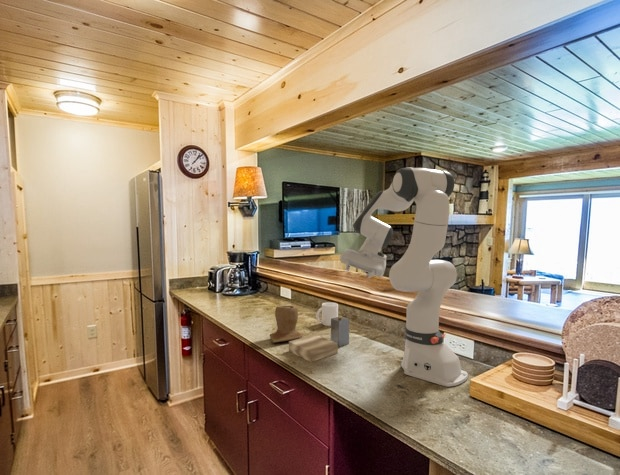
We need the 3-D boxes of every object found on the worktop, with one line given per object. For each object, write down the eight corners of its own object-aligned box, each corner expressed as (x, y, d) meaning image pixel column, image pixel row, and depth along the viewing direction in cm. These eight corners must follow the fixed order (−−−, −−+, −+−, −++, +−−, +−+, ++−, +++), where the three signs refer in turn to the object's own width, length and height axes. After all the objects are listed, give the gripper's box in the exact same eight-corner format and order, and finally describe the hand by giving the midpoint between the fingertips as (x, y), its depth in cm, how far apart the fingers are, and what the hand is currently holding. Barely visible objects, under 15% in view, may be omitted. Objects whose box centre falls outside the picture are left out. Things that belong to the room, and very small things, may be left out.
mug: (320, 328, 171) (320, 307, 171) (312, 323, 179) (312, 304, 178) (341, 325, 177) (341, 305, 176) (332, 320, 184) (332, 301, 183)
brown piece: (293, 332, 165) (293, 301, 164) (305, 340, 155) (305, 306, 154) (263, 337, 158) (263, 305, 157) (274, 346, 147) (273, 311, 147)
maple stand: (337, 353, 140) (337, 343, 140) (310, 362, 131) (310, 351, 131) (315, 343, 151) (315, 334, 150) (288, 351, 142) (288, 341, 142)
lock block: (348, 343, 150) (349, 315, 150) (338, 347, 146) (339, 318, 146) (340, 340, 154) (340, 313, 153) (330, 343, 150) (330, 315, 150)
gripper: (347, 242, 160) (335, 259, 150) (390, 257, 154) (381, 276, 144) (345, 253, 164) (334, 270, 154) (387, 268, 158) (378, 287, 148)
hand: (357, 273), depth 149 cm, fingers open, 8 cm apart
